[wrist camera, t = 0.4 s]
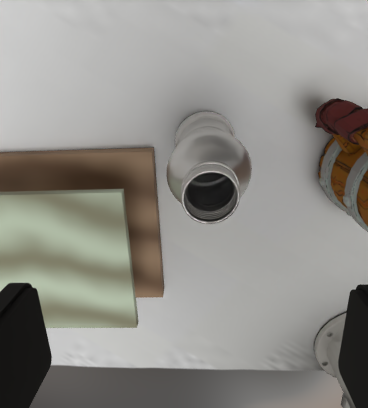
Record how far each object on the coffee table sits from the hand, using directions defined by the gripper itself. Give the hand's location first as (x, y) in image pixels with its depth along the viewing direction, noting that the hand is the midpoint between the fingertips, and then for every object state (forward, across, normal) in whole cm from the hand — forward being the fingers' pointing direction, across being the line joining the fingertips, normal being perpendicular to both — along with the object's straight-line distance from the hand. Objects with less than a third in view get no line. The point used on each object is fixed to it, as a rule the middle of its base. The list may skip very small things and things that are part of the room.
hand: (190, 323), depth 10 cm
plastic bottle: (+32, -1, 0) cm, 32 cm away
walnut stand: (+32, +15, +11) cm, 37 cm away
